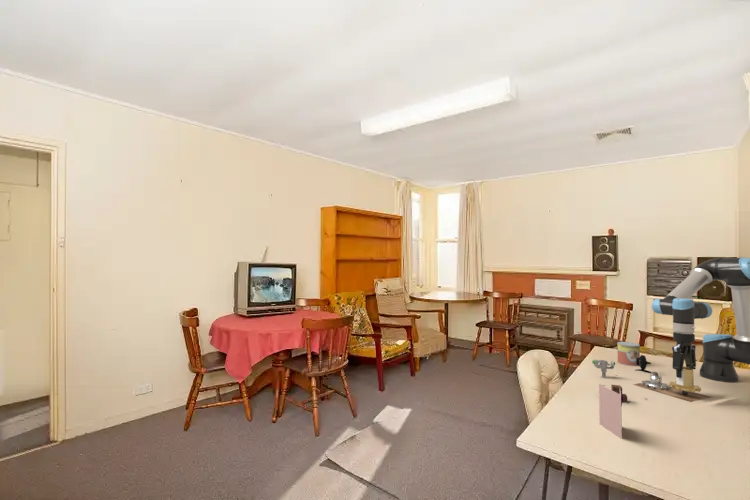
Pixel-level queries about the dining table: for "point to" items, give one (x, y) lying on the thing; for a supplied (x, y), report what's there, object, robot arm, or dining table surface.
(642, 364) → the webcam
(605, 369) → the mechanical component
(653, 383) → the steel gear
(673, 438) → the dining table surface
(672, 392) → the gear board
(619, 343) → the canned food
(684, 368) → the brass gear
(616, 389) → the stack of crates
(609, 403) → the greeting card
